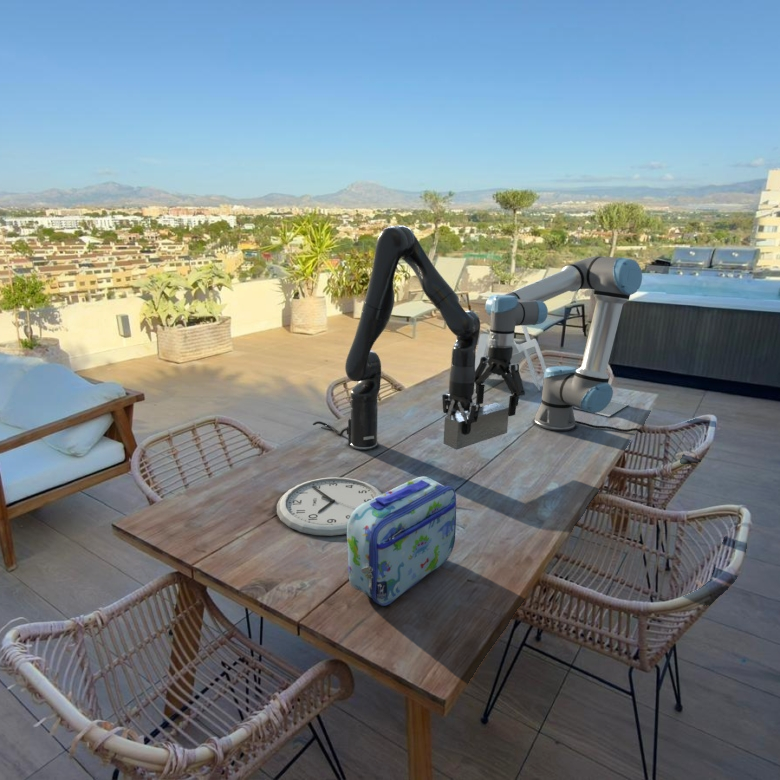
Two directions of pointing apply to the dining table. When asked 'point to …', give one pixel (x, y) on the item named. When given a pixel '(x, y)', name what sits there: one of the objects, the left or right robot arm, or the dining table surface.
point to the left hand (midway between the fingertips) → (458, 430)
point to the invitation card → (611, 408)
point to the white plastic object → (514, 353)
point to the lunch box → (400, 538)
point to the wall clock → (324, 504)
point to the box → (476, 426)
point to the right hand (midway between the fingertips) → (495, 409)
